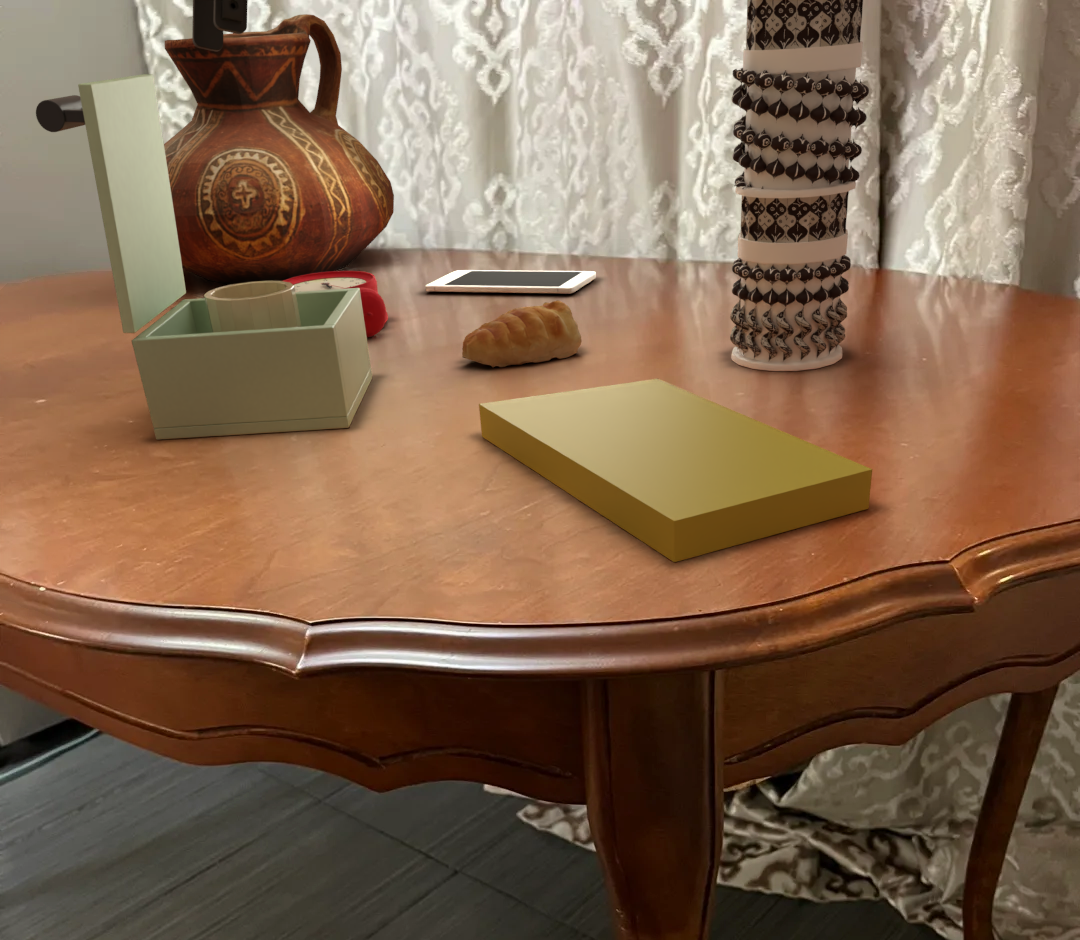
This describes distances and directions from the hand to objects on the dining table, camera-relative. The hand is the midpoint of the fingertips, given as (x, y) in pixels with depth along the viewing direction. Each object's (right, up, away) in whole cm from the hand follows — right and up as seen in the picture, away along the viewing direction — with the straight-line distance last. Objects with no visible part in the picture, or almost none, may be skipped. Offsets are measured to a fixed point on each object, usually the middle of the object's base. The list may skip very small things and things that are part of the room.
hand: (218, 40), depth 83 cm
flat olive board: (+31, -36, -16) cm, 50 cm away
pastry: (+23, -21, +8) cm, 32 cm away
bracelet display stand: (+43, -23, +3) cm, 49 cm away
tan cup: (+4, -27, 0) cm, 27 cm away
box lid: (-3, -15, -7) cm, 17 cm away
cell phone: (+21, -6, +32) cm, 38 cm away
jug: (-8, +2, +49) cm, 49 cm away
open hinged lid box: (+4, -27, 0) cm, 28 cm away
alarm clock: (+5, -15, +20) cm, 25 cm away
